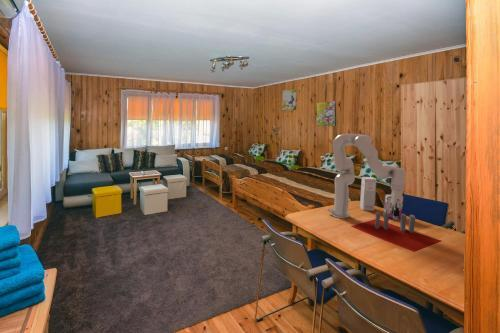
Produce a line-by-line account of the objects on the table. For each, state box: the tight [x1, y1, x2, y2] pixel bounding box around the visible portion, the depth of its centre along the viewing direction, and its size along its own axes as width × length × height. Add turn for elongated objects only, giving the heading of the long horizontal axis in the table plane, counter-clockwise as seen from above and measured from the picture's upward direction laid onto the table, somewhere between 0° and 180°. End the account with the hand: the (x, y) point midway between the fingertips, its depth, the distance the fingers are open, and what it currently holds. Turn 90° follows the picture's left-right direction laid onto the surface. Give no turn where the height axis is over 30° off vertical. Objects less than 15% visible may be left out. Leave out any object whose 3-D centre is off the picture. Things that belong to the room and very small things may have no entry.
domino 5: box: [408, 214, 416, 233], centre depth 181 cm, size 2×5×10 cm, turn 163°
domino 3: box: [392, 204, 399, 221], centre depth 183 cm, size 2×5×10 cm, turn 162°
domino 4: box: [399, 213, 407, 233], centre depth 183 cm, size 2×5×10 cm, turn 163°
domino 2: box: [382, 211, 390, 231], centre depth 186 cm, size 2×5×10 cm, turn 163°
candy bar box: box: [382, 194, 404, 219], centre depth 206 cm, size 11×5×16 cm, turn 84°
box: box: [359, 176, 378, 212], centre depth 225 cm, size 8×8×25 cm
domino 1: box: [374, 211, 381, 230], centre depth 187 cm, size 2×5×10 cm, turn 163°
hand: (395, 214), depth 183 cm, fingers closed on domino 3, 4 cm apart
